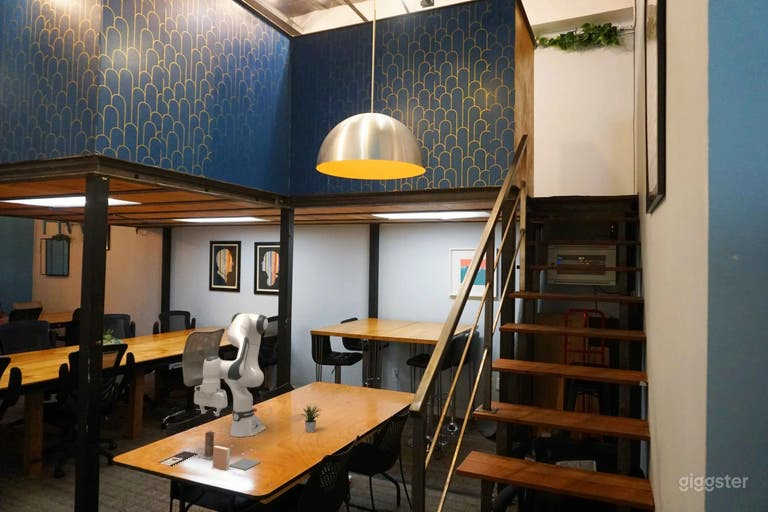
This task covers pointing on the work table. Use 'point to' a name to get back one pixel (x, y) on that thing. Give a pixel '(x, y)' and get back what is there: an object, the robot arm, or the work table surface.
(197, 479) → the work table surface
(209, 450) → the wood block on plate
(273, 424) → the work table surface
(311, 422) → the house plant
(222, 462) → the tile
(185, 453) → the chocolate bar
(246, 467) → the slate mat
